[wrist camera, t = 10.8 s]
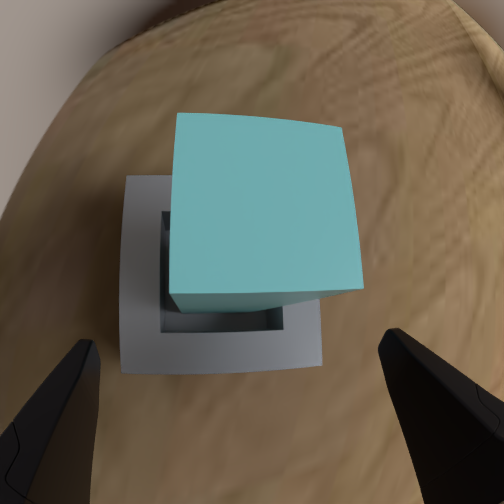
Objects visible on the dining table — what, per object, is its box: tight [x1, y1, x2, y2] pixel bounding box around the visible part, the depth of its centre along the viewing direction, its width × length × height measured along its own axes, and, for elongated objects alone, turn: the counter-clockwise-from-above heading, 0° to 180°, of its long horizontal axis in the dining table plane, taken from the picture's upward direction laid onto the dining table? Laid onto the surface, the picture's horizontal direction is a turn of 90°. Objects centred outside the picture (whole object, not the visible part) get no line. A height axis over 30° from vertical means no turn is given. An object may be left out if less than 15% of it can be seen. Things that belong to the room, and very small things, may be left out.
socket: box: [119, 175, 322, 374], centre depth 18 cm, size 10×10×4 cm
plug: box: [169, 113, 364, 314], centre depth 13 cm, size 4×4×13 cm
